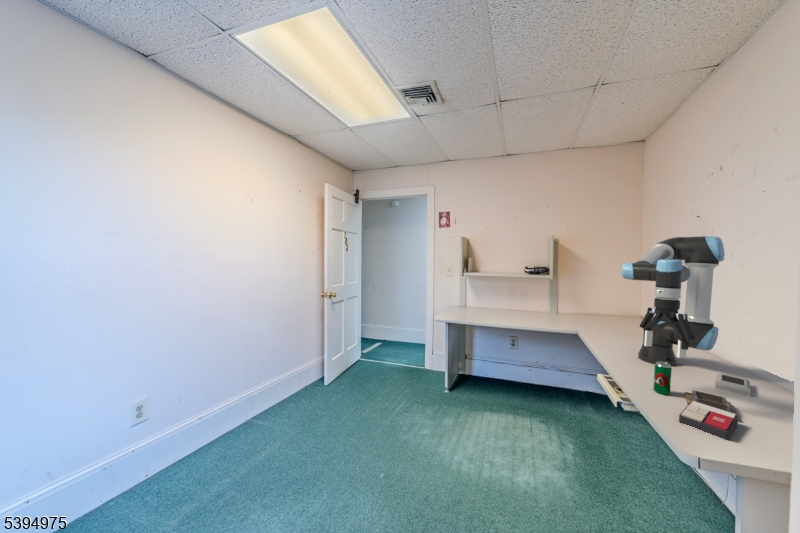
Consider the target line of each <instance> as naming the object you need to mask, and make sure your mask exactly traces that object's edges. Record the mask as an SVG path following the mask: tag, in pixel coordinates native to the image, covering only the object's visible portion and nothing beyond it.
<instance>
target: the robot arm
mask: <svg viewBox="0 0 800 533" xmlns="http://www.w3.org/2000/svg"><path fill="white" fill-rule="evenodd" d="M725 254H726V253H725V247H724V243H723V240H722V238H721V237H719V236H712V235H711V236H707V235H705V236H704V235H703V236H679V237H678V236H676V237H672V238H671V237H670V238H666V239H665V240H662V241H659V242H657V243H655V244H653V245H652V246H651V247H650V249H649V251H648V252H647V253H646V254H644V255H643V256H642V257H641V258H639V259H638V260H636V261H635V262H634V263H633V262H625V263H624V264H623V265H622V266H621V272H620V273H621V277H622V278H623V279H624V280H625V279H626V280H631V281H642V282H643V281H645V282H655V288H654V290H655V291H654V297H655V298H654V301H653V302H654V303H653V305H654V306H653V307H648V308H647V310H646V314H645V316H643V318H642V321H641V322H640V324H639V327H640V328H642V329H643V340H642V341H643V342H642V345H641V347H640V349H639V351H638V354H637V357H638V359H639V360H641V361H643V362H647V363H649V364H654V365H655V363H656V361H662V362H666V363H669V364H671V365H670V366H671V367H672V366H676V365H677V361H678V360H677V358H678V359H681V358H682V359H684V358H685V359H686V358H687V350H689V348H691V349H696V350H700V351H701V350H702V351H707V352H708V351H711V350H713V349H714V347H715V344H716V343H717V340H718V337H719V330H720V329H719V327H717V326H715V322H714V321H713V320H711V318H710V317H711V304H712V293H713V280H714V279H713V278H714V270H715V268H717V267H718V266H719V264H720V262H724V260H725V257H726V256H725ZM683 261H684V263H683ZM683 264H684V265H683ZM684 282H686V292H685V302H684V303H685V304H684V313H679V310H680V308H681V300H680V299H681V295H682V294H681V293H682V283H684ZM674 345H677V356H676V355H675V351H674V349H673V348H674V347H673V346H674Z"/></svg>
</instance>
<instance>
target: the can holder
mask: <svg viewBox="0 0 800 533" xmlns="http://www.w3.org/2000/svg"><path fill="white" fill-rule="evenodd" d="M684 396H685V400H686V406H688V405H689V403H690V402H691V401H695V402H698V403H701V404H705V405H708V406H711V407H714V408H718V409H721V410H724V411H727V412H730V413H734V414H736V415H737V416H738V414H737V412H736V410H735V408H734V407H733V404H732V403H731V402H730V401H728V400H727V397H726V396H720V395H717V394H711V393H708V392H703V391H699V390H698V391H697V390H694V389H692V390H691V392H687V391H685V392H684ZM738 423H740V417H738Z"/></svg>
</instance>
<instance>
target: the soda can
mask: <svg viewBox="0 0 800 533" xmlns="http://www.w3.org/2000/svg"><path fill="white" fill-rule="evenodd" d="M670 365H671V364H669V363H666V362H662V361H656V363H655V364H654V370H653V371H654V373H653V391H654V392H655V393H657V394H659V395H663V394H664V395H665V396H669V395H671V389H672V388H671V385H672V384H671V383H672V370H673V369H672V368H673V367H672V366H670Z"/></svg>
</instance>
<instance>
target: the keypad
mask: <svg viewBox="0 0 800 533" xmlns="http://www.w3.org/2000/svg"><path fill="white" fill-rule="evenodd" d="M714 389H717V390H721V391H725V392H729V393H734V394H738V395H741V396H746V397H750V398H751V395H752V389H751V381H750V380H749V379H747V378H744V377H743V378H742V377H739V376H733V375H729V374H725V373H717V374H716V377H715V385H714Z"/></svg>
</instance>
